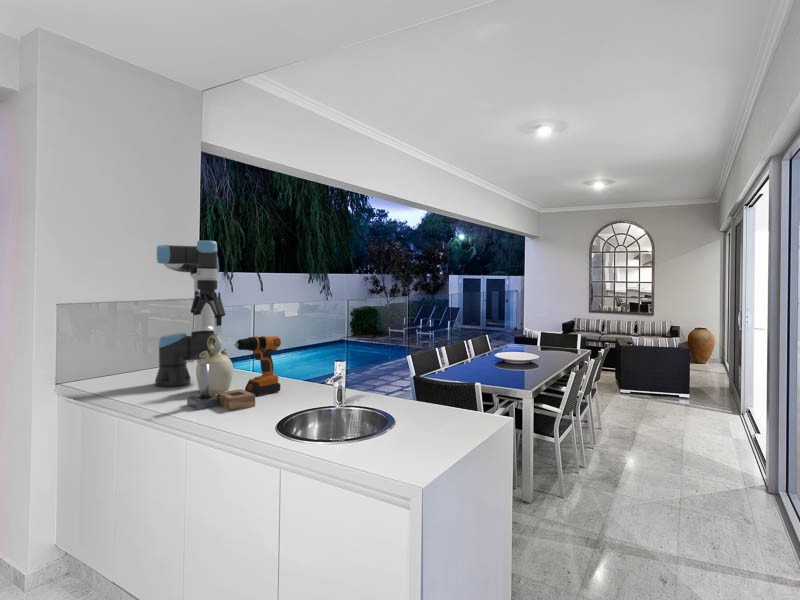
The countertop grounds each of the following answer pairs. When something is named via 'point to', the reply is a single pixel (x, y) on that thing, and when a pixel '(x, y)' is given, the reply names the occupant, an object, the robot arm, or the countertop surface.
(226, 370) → the jug
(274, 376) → the power drill
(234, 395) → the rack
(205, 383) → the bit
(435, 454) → the countertop surface
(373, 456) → the countertop surface
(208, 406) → the socket block
